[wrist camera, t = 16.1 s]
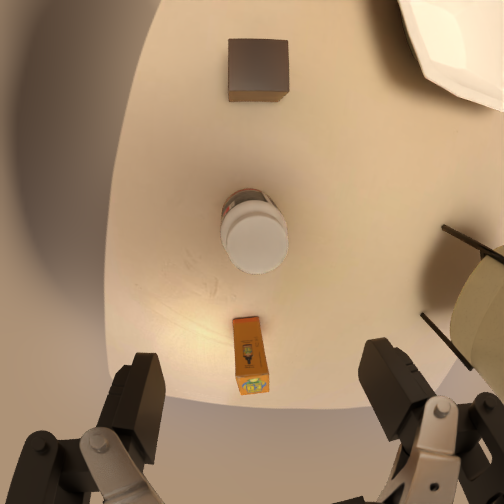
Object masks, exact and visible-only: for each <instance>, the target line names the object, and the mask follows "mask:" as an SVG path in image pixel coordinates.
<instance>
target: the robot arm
mask: <svg viewBox="0 0 504 504" xmlns="http://www.w3.org/2000/svg"><path fill="white" fill-rule="evenodd" d="M358 377H359V381H360V383H361V385H362V387H363V389H364V391H365V393H366V395H367V397H368V399H369V401H370V403H371V405H372V407H373V409H374V411H375V414H376V416H377V418H378V420H379V422H380V424H381V426H382V428H383V430H384V432H385V434H386V436H387V438H388V440H389V442H390V441H393V440H396V439H400V441H401V444H400V446H399V449H398V452H397V455H396V458H395V461H394V464H393V467H392V470H391V473H390V476H389V478H388V481H387V484H386V486H385V487H384V489H383V491H382V492H381V494H380V495H379V497H378V499H377V501H376V502H365V501H364V498H363V496H360V497H356V498H353V499H349V500H345V501H341V502H337V503H333V504H453V501H454V496H455V492H456V486H457V482H458V479H459V482H460V484H461V486H462V488H463V491H464V493H465V495H466V498H467V500H468V502H469V504H504V405H503V403H502V402H501V400H500V399H499V398H498V397H497V396H496V395H494V394H492V393H488V392H483V393H480V394H479V395H477V397H476V398H475V400H474V401H473V403H467V404H458V405H457V404H456V403H455V402H454V401H453V400H451V399H450V398H448V397H445V396H437V395H436V394H435V392H434V391H433V389H432V388H431V387H430V385H429V384H428V382H427V381H426V380H425V378H424V377H423V375H422V374H421V373H420V371H418V369H417V367H416V366H415V364H413V362H412V360H411V359H410V358H409V356H408V355H407V354H406V353H405V352H403V351H402V350H400V349H399V348H397V347H396V348H394V347H393V346H392V345H391V343H390V342H389V341H388V339H387V338H385V337H383V338H377V339H371V340H367V341H366V343H365V347H364V350H363V354H362V358H361V361H360V365H359V369H358ZM165 393H166V389H165V381H164V377H163V374H162V370H161V366H160V362H159V359H158V356H157V354H156V353H136V355H135V357H134V360H133V363H132V365H124V366H123V367H122V368H121V369H120V370H119V371H118V372H117V373H116V375H115V377H114V380H113V383H112V386H111V387H110V390H109V395H107V398H106V401H105V404H104V406H103V409H102V412H101V415H100V418H99V421H98V424H97V426H96V427H95V428H92V429H90V430H88V431H87V432H85V433H84V435H83V436H82V437H81V438H80V439H70V440H57V439H56V438H55V436H54V435H53V434H52V433H50V432H48V431H36V432H34V433H32V434H31V435H30V436H29V437H28V438H27V439H26V441H25V444H24V446H23V449H22V452H21V455H20V457H19V460H18V463H17V466H16V469H15V472H14V475H13V478H12V482H11V485H10V488H9V492H8V496H7V499H6V503H5V504H89V502H90V497H91V492H99V491H100V492H101V494H102V496H103V498H104V501H103V504H165V503H164V502H163V501H162V499H161V498H160V497H159V495H158V494H157V493H156V491H155V490H154V489H153V487H152V486H151V484H150V483H149V482H148V480H147V479H146V477H145V476H144V474H143V469H144V464H154V460H155V453H156V447H157V441H158V440H157V439H158V434H159V428H160V422H161V417H162V411H163V405H164V400H165ZM481 438H482V439H483V441H484V442H485V444H486V446H487V447H488V449H489V451H490V453H491V455H492V463H491V464H490V463H489V461H488V459H487V457H486V455H485V454H484V452H483V450H482V448H481V446H480V444H479V443H478V442H479V441H480V439H481Z"/></svg>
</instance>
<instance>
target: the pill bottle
mask: <svg viewBox="0 0 504 504" xmlns="http://www.w3.org/2000/svg"><path fill="white" fill-rule="evenodd" d="M220 236H221V241H222V244H223V247H224V249H225V250H226V252H227V253H228V256H229V258H230V260H231V262H232V263H233V264H234V265H235V266H236V267H237V268H238V269H240V270H241V271H243V272H246V273H249V274H264V273H268V272H270V271H272V270H274V269H275V268H277V267H278V266H279V265H280V264H281V263H282V262H283V260H284V259H285V257H286V255H287V251H288V237H287V236H288V229H287V224H286V221H285V219H284V216H283V215H282V213H281V212H280V210H279V209H278V208H277V206H276V205H275V204H274V202H273V201H272V200H271V198H270V197H269V196H268V195H266V194H265V193H263V192H262V191H259V190H256V189H243V190H240V191H237V192H235V193H234V194H232V195H231V196H230V197H229V198H228V199H227V201H226V202H225V204H224V207H223V210H222V218H221V230H220Z"/></svg>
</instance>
